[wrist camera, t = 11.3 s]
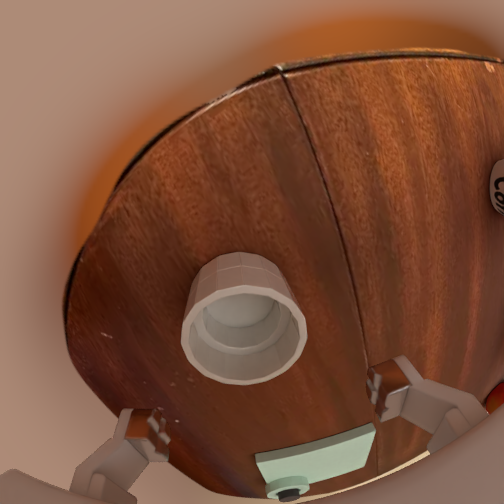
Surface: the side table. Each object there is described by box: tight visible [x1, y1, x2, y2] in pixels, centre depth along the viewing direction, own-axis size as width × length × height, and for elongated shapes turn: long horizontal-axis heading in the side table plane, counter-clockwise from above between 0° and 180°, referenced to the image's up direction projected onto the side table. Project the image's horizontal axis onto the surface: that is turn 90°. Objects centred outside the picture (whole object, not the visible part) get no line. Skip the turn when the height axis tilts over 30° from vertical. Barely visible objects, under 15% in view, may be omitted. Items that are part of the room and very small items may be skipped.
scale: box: [255, 422, 376, 499], centre depth 25 cm, size 14×12×3 cm
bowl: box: [181, 252, 307, 385], centre depth 15 cm, size 6×6×5 cm
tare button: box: [278, 488, 300, 502], centre depth 25 cm, size 3×3×2 cm
